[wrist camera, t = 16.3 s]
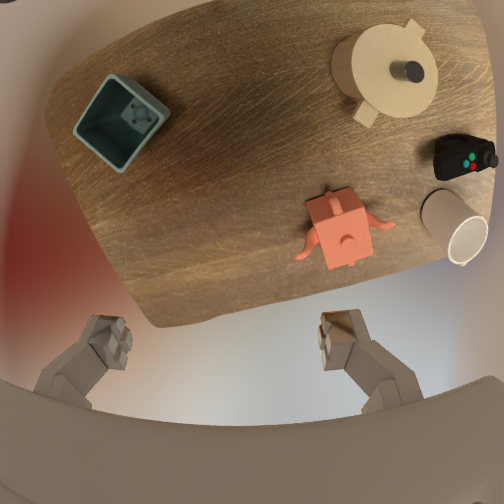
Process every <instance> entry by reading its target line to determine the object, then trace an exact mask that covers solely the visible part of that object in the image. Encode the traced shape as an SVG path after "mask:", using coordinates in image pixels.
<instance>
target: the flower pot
mask: <svg viewBox="0 0 504 504" xmlns="http://www.w3.org/2000/svg"><path fill="white" fill-rule="evenodd" d="M133 104H135V107H134V108H133V107H132V105H133ZM170 114H171V111H170V110H169V109H168V108H167V107H166V106H165V105H164V104H162V103H161V102H160V101H159V100H158V99H156V98H155V97H154V96H153V95H152V94H150V93H149V92H148V91H147V90H146V89H144V88H143V87H142V86H141V85H140V84H139V83H137V82H136V81H135V80H133V79H132V78H130V77H126V76H122V75H117V74H109V75H108V76H107V77H106V79H105V80H104V82H103V83H102V85H101V86H100V87H99V89H98V90H97V92H96V94H95V95H94V97H93V98H92V100H91V101H90V103H89V104H88V106H87V108H86V109H85V111H84V112H83V114H82V116H81V117H80V119H79V120H78V122H77V124H76V125H75V127H74V129H73V134H74V135H75V136H76V137H77V138H78V139H79V140H81V141H82V142H83V143H84V144H85V145H87V146H88V147H89V148H90V149H91V150H92V151H94V152H95V153H96V154H97V155H98V156H99V157H101V158H102V159H103V160H104V161H105V162H106V163H107V164H109V165H110V166H111V167H112V168H113V169H114V170H116V171H117V172H118V173H123V172H124V171H125V170H126V168H127V167H128V166H129V165H130V164H131V162H132V161H133V160H134V159H135V158H136V156H137V155H138V154H139V152H140V151H141V150H142V148H143V147H144V146H145V145H146V143H147V142H148V141H149V140H150V138H151V137H152V136H153V135H154V134H155V132H156V131H157V130H158V129H159V128H160V126H161V125H162V124H163V123H164V122H165V121H166V120H167V118H168V117H169V116H170ZM148 118H151V119H152V120H151V121H148ZM134 120H136V121H137V122H136V123H134Z"/></svg>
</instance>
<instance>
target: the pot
mask: <svg viewBox="0 0 504 504" xmlns="http://www.w3.org/2000/svg"><path fill="white" fill-rule="evenodd" d="M403 27H404V28H406V29H408V30H410V31H411V32H413V33H414V34H416V35H417V36H418V37H419V38H420V39H421V38H422V36H423V35H424V33H425V30H424V29H423V28H422V27H421V26H420V25H419V24H417V23H416V22H415V21H414V20H413V19H411V18H409V19H406V21H405V23H404V25H403ZM361 33H362V32H361ZM361 33H358V34H354V35H351V36H349V37H348V38H346V39H344V40H343V41H341V42H340V43H339V44H338V45H337V47H336V48H335V50H334V52H333V55H332V59H331V70H332V75H333V77H334V80H335V82H336V84H337V85H338V87H339V88H340V90H341V91H342V92H343V93H344V94H345V95H346V96H348V97H349V98H351V99H353V100H354V101H356V102H358V103H359V104H358V105H357V107H356V109H355V110H354V112H353V114H352V115H351V118H352V119H354V120H355V121H357V122H359V123H360V124H362V125H363V126H365V127H366V128H368V129H370V128H371V126H372V124H373V123H374V121H375V119H376V117H377V116H378V114H379V111H377V110H376V109H374V108H373V107H372V106H370V105H369V104H368V103H367V102H366V101H365V100H364V98H363V97H362V96H361V95H360V93H359V92H358V90H357V88H356V86H355V84H354V81H353V79H352V75H351V70H350V55H351V50H352V47H353V45H354V43H355V41H356V39H357V38H358V36H359V35H360V34H361Z"/></svg>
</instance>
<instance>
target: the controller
mask: <svg viewBox="0 0 504 504" xmlns="http://www.w3.org/2000/svg"><path fill="white" fill-rule="evenodd" d="M434 151H435V156H434V159H433V166H434V173H435V176H436V178H437V180H441V181H447V180H450V179H453V178H456V177H459V176H462V175H465V174H468V173H470V172H473V171H476V172H479V171H482V170H484V169H486V168H488V167H492V168H495V167H497V165H498V157H497V155H495V146H494V143H493V142H492V141H488V140H486V139H482V138H478V137H475V136H471V135H464V134H453V135H447V136H444V137H442V138H440V139H439V140H438V141H437V142H436V143H435V146H434Z"/></svg>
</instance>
